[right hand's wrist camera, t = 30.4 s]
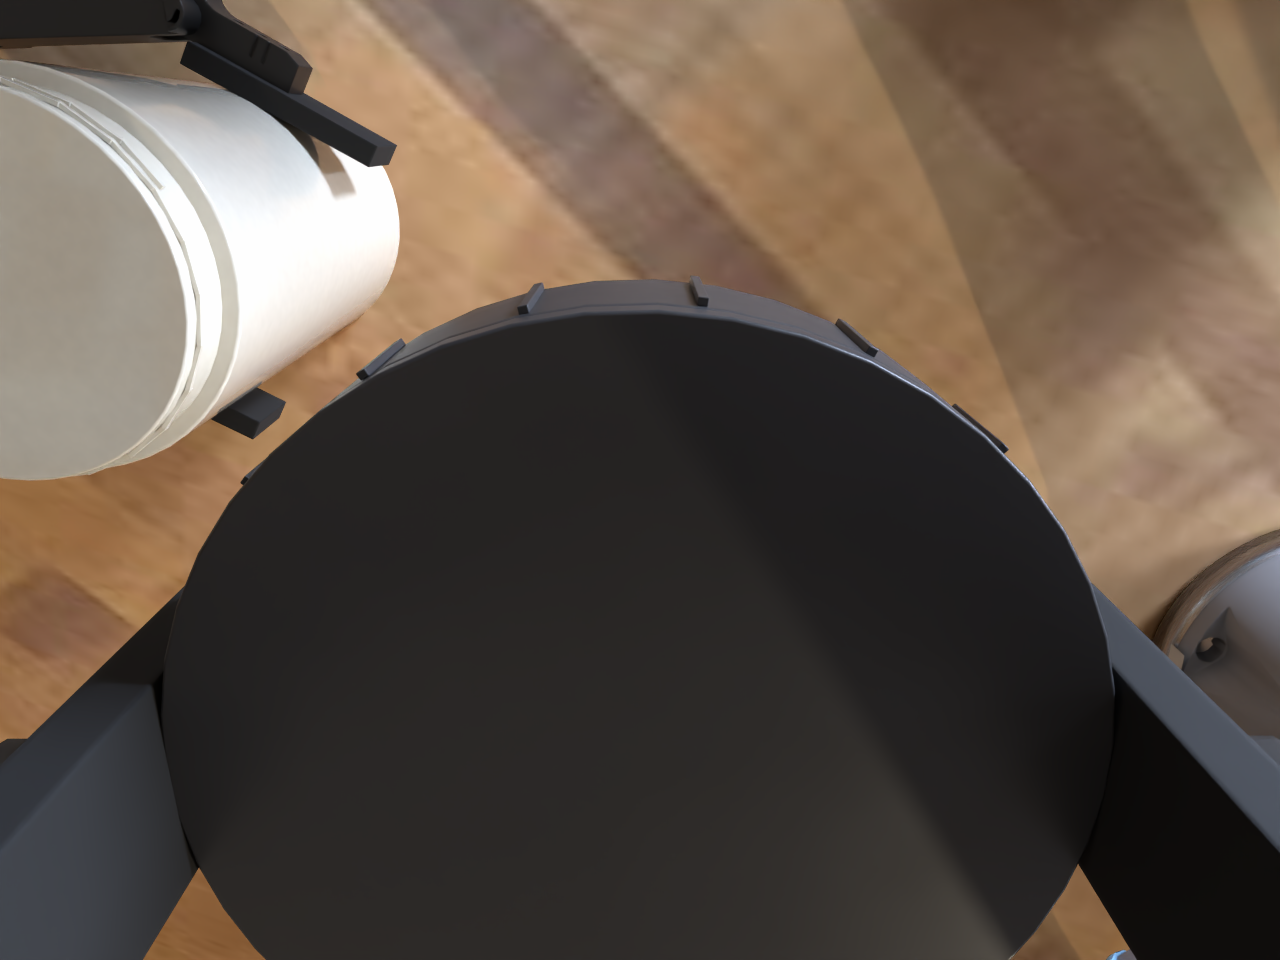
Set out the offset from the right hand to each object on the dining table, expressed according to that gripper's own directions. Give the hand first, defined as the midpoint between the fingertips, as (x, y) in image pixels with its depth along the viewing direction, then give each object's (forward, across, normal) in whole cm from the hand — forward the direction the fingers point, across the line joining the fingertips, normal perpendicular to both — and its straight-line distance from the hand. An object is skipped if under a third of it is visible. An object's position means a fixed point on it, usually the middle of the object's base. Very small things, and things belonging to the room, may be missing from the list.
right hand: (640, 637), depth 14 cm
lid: (-3, 0, 0) cm, 3 cm away
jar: (+28, +15, -4) cm, 32 cm away
